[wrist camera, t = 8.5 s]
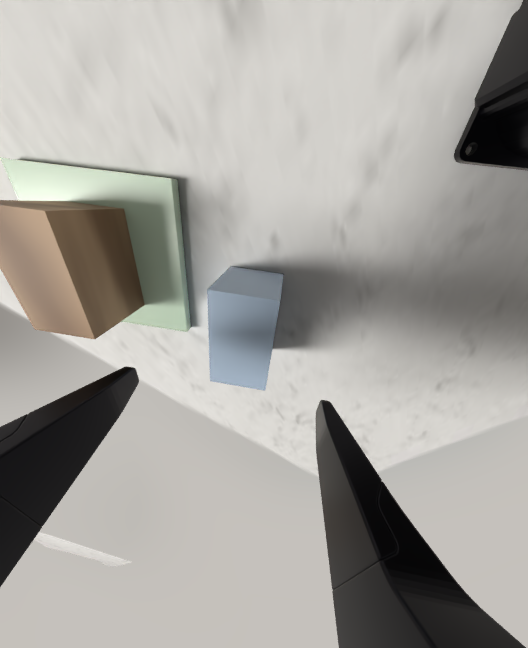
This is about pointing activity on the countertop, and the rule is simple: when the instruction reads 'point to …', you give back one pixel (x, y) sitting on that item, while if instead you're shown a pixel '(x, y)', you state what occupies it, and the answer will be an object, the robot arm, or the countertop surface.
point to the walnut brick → (69, 265)
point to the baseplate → (143, 224)
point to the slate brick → (243, 326)
